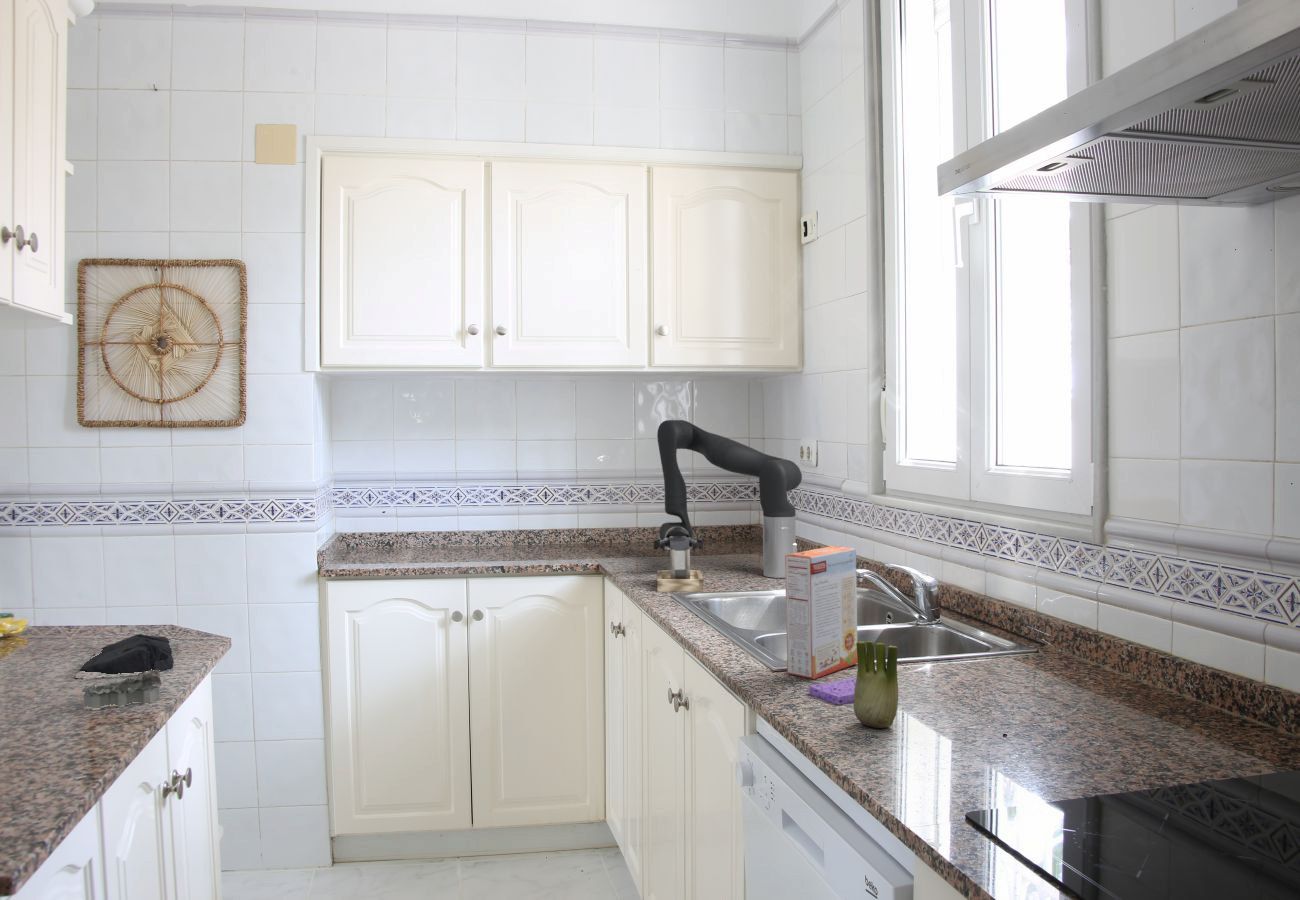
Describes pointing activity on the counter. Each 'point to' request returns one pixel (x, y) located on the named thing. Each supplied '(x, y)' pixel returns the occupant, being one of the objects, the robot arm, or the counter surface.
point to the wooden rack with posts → (669, 583)
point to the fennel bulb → (876, 685)
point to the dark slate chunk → (132, 656)
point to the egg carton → (125, 691)
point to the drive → (679, 555)
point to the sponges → (835, 691)
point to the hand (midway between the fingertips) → (678, 546)
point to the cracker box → (821, 611)
